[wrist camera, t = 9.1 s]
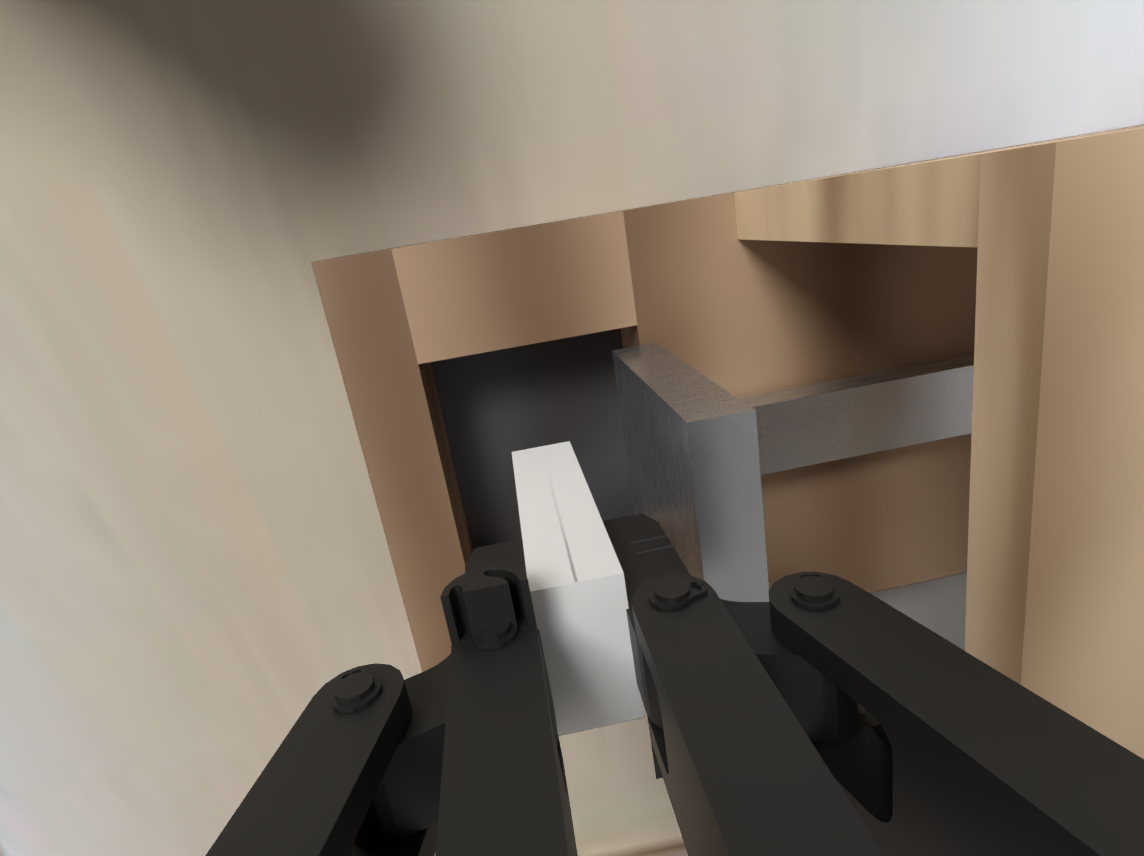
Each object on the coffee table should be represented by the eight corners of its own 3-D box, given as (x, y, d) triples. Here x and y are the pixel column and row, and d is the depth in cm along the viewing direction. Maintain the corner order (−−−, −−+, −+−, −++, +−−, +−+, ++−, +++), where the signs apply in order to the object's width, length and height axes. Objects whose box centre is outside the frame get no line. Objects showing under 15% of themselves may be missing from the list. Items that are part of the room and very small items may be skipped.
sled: (643, 576, 20) (722, 751, 13) (606, 313, 17) (680, 365, 11) (1123, 477, 21) (1419, 591, 14) (1151, 217, 18) (1525, 210, 12)
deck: (434, 631, 23) (426, 688, 20) (337, 257, 19) (311, 262, 16) (1251, 461, 25) (1347, 490, 23) (1315, 96, 22) (1441, 75, 19)
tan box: (766, 615, 21) (1004, 941, 11) (734, 192, 17) (1056, 142, 7) (1053, 553, 22) (1506, 811, 12) (1086, 134, 18) (1796, 20, 8)
